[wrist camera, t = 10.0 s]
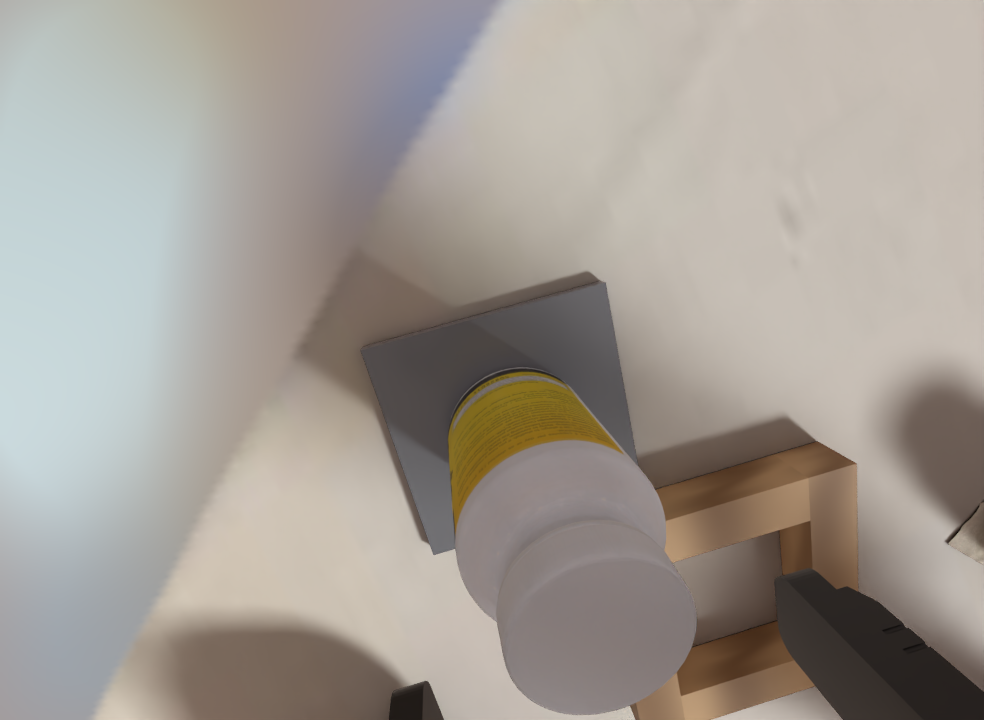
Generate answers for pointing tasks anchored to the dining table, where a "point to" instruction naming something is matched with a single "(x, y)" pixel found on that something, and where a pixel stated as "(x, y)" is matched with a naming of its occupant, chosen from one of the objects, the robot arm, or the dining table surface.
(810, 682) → the wooden square frame
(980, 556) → the condiment
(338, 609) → the dining table surface
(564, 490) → the pill bottle
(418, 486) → the slate coaster
